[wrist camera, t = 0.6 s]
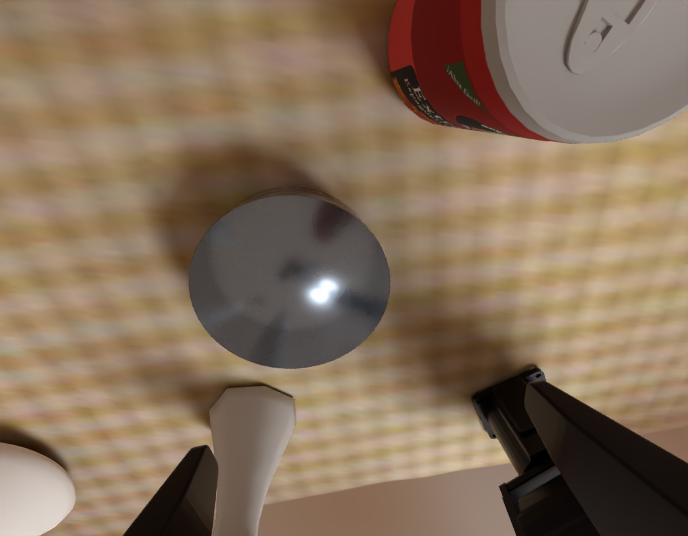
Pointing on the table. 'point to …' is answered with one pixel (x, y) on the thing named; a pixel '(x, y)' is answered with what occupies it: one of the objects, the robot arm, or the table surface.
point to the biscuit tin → (289, 279)
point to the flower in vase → (32, 492)
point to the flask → (247, 453)
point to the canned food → (542, 65)
